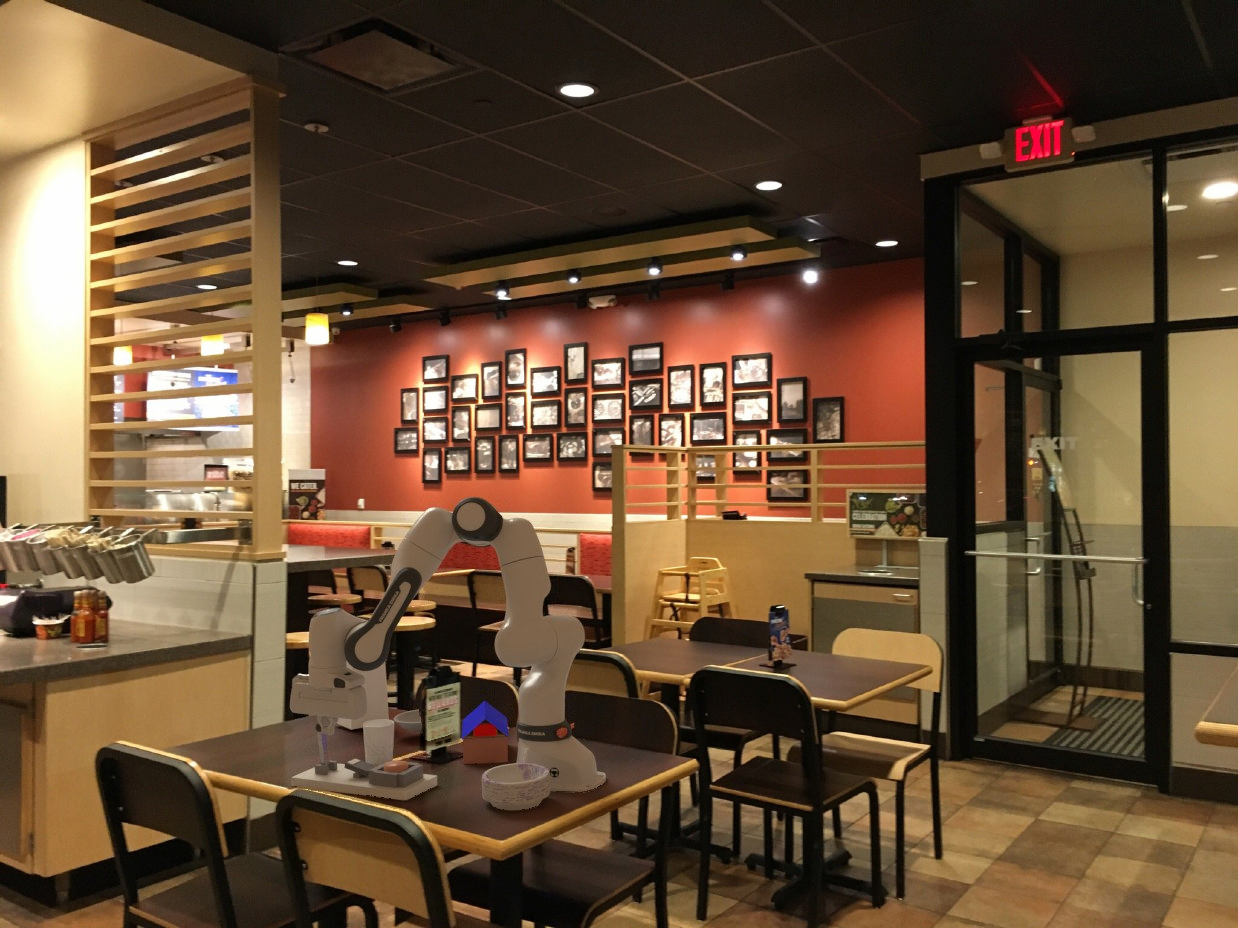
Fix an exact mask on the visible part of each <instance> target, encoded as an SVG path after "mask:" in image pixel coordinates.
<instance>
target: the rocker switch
mask: <svg viewBox="0 0 1238 928" xmlns="http://www.w3.org/2000/svg"><path fill="white" fill-rule="evenodd" d="M344 764H345V767H344V768H346V769H349V770H351V771H354V772H357V773H359V774H362V775H364V776H368V775H369V770H371V769H373V768H375V767H377V766H378V765H372V764H369V763H367V762H366V761H364V760H361V759H358V758H353V759H351V760H348V761H347V762H345V763H344Z"/></svg>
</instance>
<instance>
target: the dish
mask: <svg viewBox="0 0 1238 928" xmlns="http://www.w3.org/2000/svg"><path fill="white" fill-rule="evenodd" d="M393 721H394V723H397V724H398V725H399V726H400V727H401V728H402V729H404V730H406V731H409V732H414V733H420V734H421V729H422V723H421V717H420V716H419V709H415V710H414V709H413V710H409V711H405V712H401V713H399V714H397V715H395V716H393Z"/></svg>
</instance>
